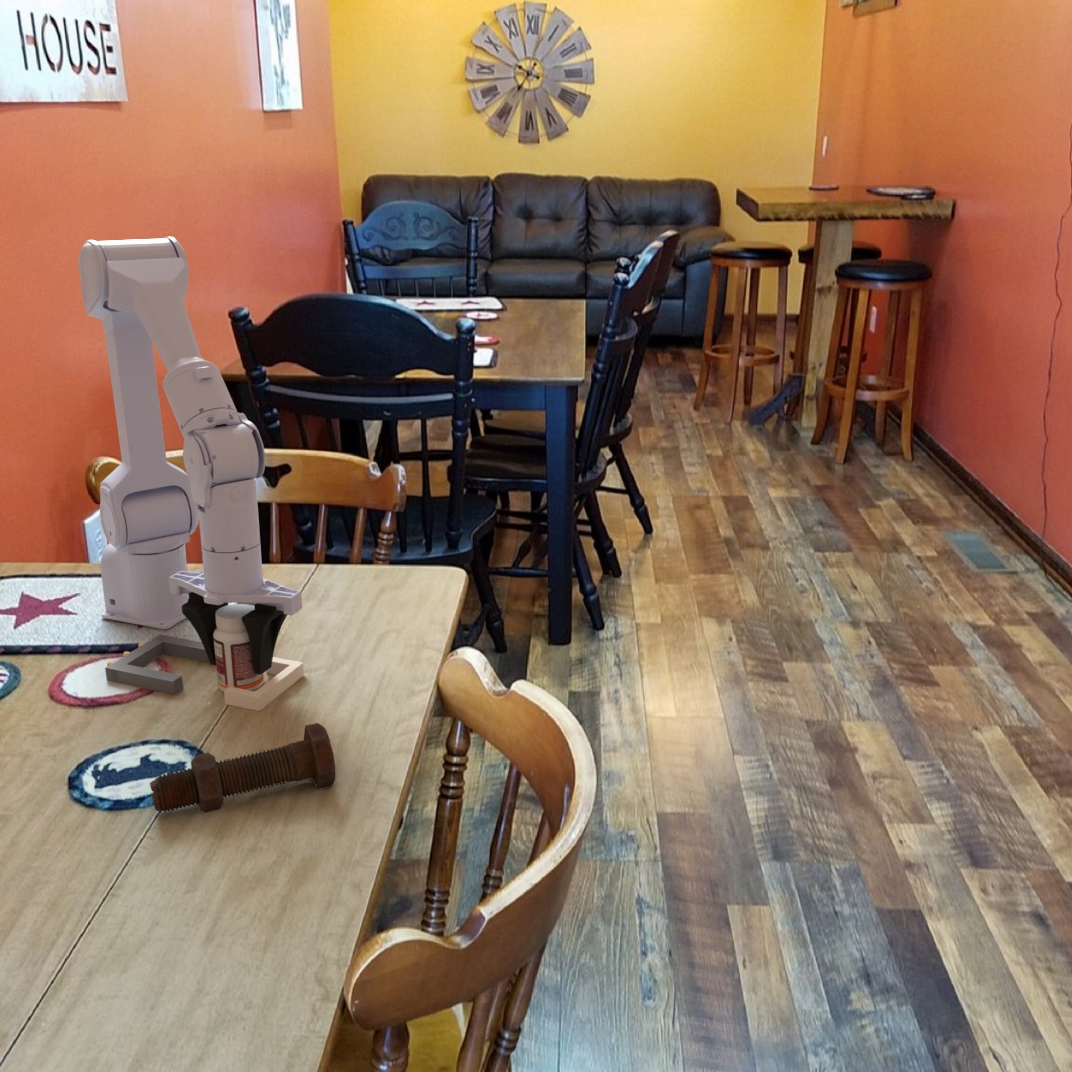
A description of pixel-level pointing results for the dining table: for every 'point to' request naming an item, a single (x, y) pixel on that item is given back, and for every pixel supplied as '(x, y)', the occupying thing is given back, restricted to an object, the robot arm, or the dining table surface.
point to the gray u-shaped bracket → (133, 662)
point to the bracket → (267, 686)
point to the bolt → (246, 773)
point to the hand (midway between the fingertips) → (240, 665)
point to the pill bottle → (234, 650)
